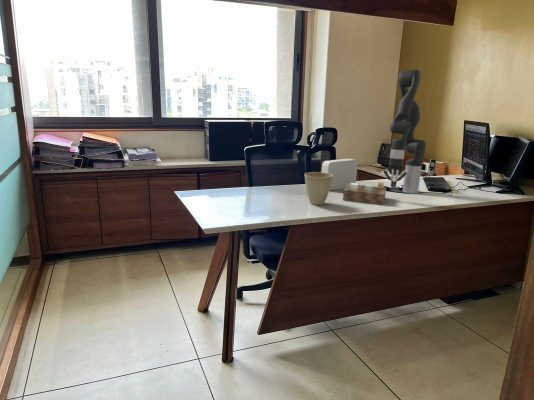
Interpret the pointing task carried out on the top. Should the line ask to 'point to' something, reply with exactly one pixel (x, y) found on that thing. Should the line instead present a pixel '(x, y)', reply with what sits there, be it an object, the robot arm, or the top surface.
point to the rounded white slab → (341, 172)
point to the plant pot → (317, 186)
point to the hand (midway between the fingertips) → (393, 187)
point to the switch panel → (365, 195)
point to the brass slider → (380, 185)
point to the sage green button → (368, 188)
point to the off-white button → (353, 186)
